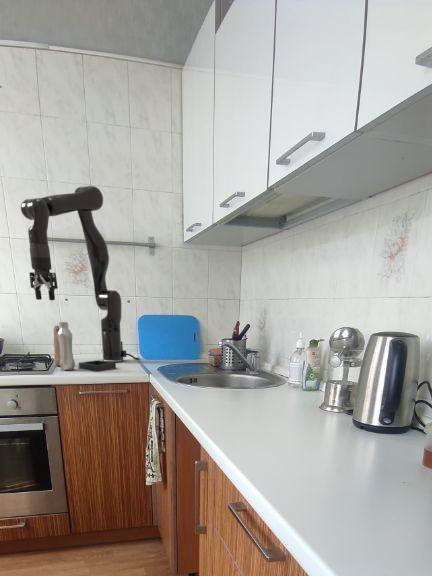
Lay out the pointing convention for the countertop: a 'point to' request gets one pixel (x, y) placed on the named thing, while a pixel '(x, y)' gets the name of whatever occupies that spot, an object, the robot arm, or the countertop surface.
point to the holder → (97, 365)
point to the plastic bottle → (65, 347)
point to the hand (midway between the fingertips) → (45, 299)
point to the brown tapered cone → (56, 346)
